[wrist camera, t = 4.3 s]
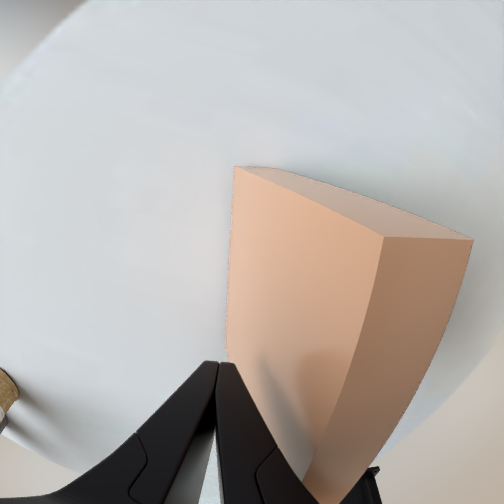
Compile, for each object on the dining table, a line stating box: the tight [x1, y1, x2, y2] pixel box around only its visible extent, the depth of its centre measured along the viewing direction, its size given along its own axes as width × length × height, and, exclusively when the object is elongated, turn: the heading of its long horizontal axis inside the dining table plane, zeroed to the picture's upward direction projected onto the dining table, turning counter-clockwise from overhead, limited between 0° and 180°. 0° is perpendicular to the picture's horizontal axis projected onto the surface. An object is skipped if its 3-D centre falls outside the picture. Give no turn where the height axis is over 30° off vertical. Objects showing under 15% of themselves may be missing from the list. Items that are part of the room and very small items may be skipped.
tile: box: [225, 166, 473, 504], centre depth 10 cm, size 2×10×11 cm, turn 176°
